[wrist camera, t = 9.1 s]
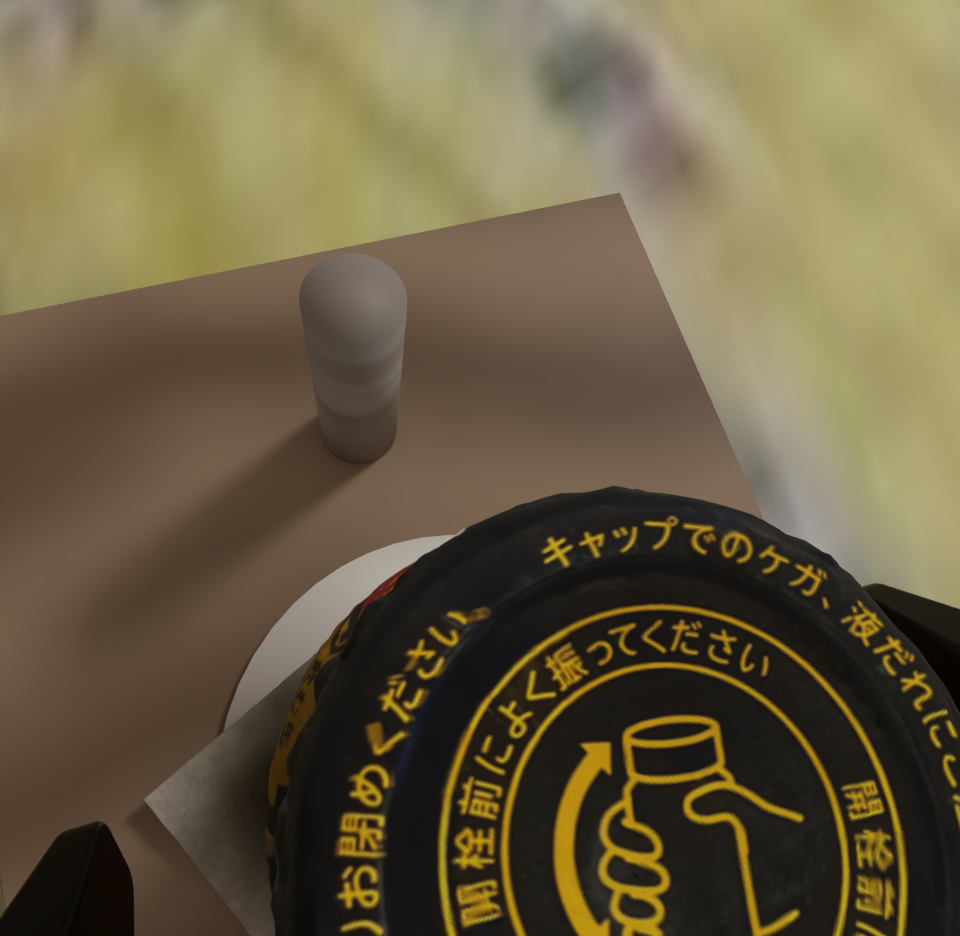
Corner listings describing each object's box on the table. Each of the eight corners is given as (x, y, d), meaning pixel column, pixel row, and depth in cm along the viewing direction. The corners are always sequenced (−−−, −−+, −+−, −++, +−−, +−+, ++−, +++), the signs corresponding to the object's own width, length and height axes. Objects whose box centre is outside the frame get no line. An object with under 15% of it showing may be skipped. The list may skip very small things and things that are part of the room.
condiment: (683, 776, 17) (1323, 880, 6) (384, 1110, 14) (440, 2605, 3) (462, 529, 18) (617, 195, 7) (148, 797, 15) (-482, 1000, 4)
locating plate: (956, 1031, 17) (1337, 1229, 10) (118, 1471, 13) (-148, 2253, 6) (607, 219, 23) (706, 7, 16) (-50, 354, 19) (-283, 149, 12)
